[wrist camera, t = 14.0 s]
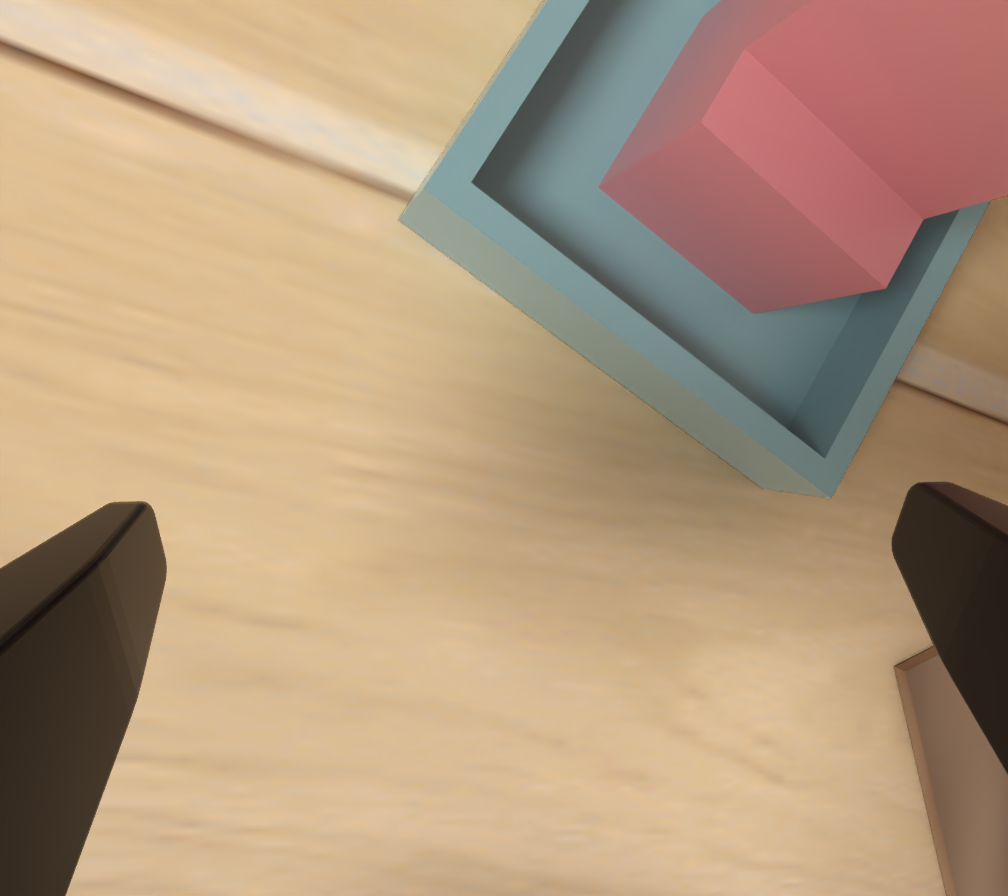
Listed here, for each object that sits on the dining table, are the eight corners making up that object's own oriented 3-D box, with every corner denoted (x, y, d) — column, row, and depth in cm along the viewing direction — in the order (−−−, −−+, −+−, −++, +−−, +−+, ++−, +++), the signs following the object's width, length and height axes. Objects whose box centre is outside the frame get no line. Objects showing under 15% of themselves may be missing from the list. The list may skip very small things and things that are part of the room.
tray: (762, 488, 24) (831, 498, 21) (398, 219, 20) (423, 188, 17) (952, 142, 26) (1039, 109, 23) (653, -166, 22) (713, -251, 19)
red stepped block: (753, 314, 23) (1112, 245, 14) (598, 186, 21) (885, 5, 12) (864, 117, 24) (1271, -75, 14) (724, -20, 22) (1083, -340, 13)
